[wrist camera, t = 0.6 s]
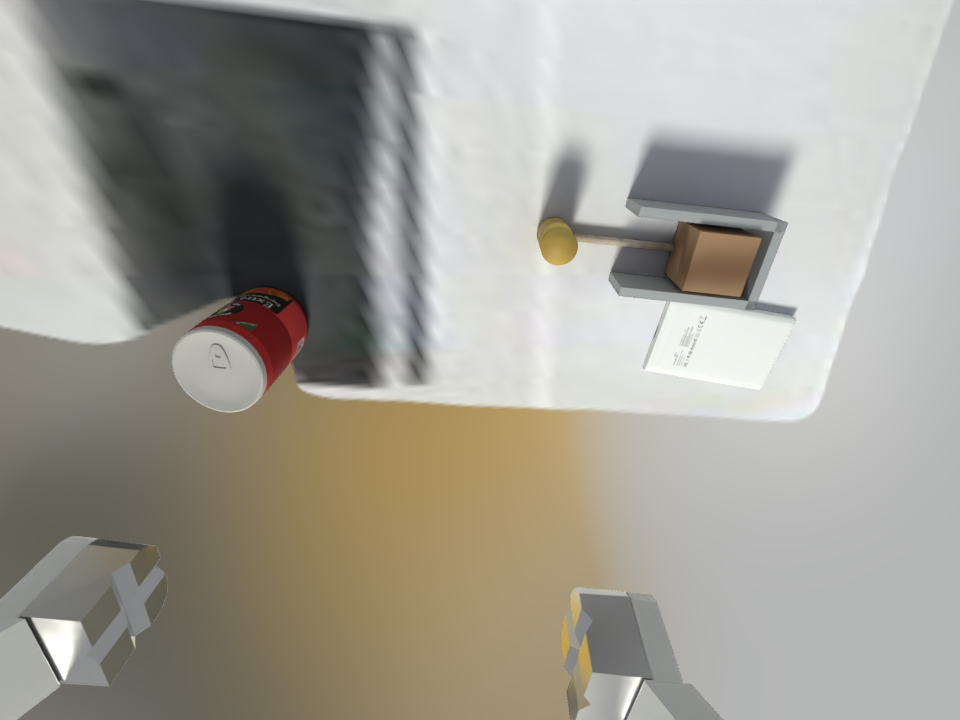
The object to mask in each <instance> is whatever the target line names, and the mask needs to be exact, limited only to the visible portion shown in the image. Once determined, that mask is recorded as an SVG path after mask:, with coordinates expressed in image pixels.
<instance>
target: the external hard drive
mask: <svg viewBox="0 0 960 720" xmlns="http://www.w3.org/2000/svg"><path fill="white" fill-rule="evenodd" d="M795 322H796V319H795V318H794V317H793V316H792V315H787V314H781V313H775V312H769V311H764V310H758V309H754V310H744V309H735V308H726V307H717V306H707V305H698V304H689V303H680V302H670V301H667V302H666V304H665V307H664V310H663V312H662V315H661V318H660V321H659V323H658V329H657V332H656V335H655V337H654V338H653V339H652V342H651V345H650V347H649V350H648V353H647V355H646V358H645V361H644V364H643V368H644V370H647V371H653V372H659V373H664V374H670V375H676V376H681V377H687V378H693V379H699V380H705V381H711V382H716V383H722V384H728V385H734V386H740V387H746V388H752V389H761V388H762V386H763V385H764V383H765V381H766V379H767V377H768V375H769V373H770V371H771V369H772V367H773V365H774V363H775V361H776V359H777V358H778V355H779V354H780V352H781V350H782V348H783V346H784V344H785V342H786V340H787V338H788V336H789V334H790V333H791V331H792V329H793V327H794V324H795Z"/></svg>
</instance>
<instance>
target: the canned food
mask: <svg viewBox="0 0 960 720" xmlns="http://www.w3.org/2000/svg"><path fill="white" fill-rule="evenodd" d="M307 331H308V325H307V319H306V316H305V314H304V312H303V310H302V308H301V307H300V305H299V304H298V303H297V302H296V301H295V300H294V299H293V298H292V297H291V296H289V295H288V294H286V293H285V292H283V291H280V290H278V289H274V288H265V287H262V288H255V289H251V290H248V291H246V292H244V293H243V294H241V295H240V296H238V297H237V298H235V299H234V300H233V301H231V302H230V303H228V304H227V305H225V306H224V307H222V308H221V309H219V310H218V311H217V312H215V313H214V314H212V315H211V316H209V317H208V318H206V319H205V320H203V321H202V322H201V323H199V324H198V325H196V326H195V327H194V328H192V329H191V330H190V331H188V332H187V333H186V334H184V335H183V336H182V338H180V339H179V341H178V342H177V343H176V345H175V347H174V350H173V353H172V367H173V371H174V374H175V376H176V378H177V380H178V382H179V384H180V385H181V386H182V388H183V389H184V390H185V392H186V393H187V394H188V395H190V397H192V398H193V399H194V400H196V401H197V402H198V403H200V404H202V405H204V406H206V407H208V408H210V409H213V410H216V411H221V412H238V411H242V410H245V409H248V408H249V407H251V406H252V405H253V404H255V403H256V402H257V401H258V400H259V399H260V398H261V397H262V395H263V394H264V393H265V392H266V391H267V390H268V389H269V387H270V386H271V385H272V384H273V383H274V382H275V380H276V379H277V378H278V377H279V375H280V374H281V373H282V372H283V371H284V370H285V368H286V367H287V366H288V365H289V364H290V362H291V361H292V360H293V359H294V358H295V356H296V355H297V354H298V353H299V351H300V350H301V349H302V348H303V346H304V344H305V341H306V338H307Z"/></svg>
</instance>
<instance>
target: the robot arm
mask: <svg viewBox="0 0 960 720" xmlns="http://www.w3.org/2000/svg"><path fill="white" fill-rule="evenodd" d="M160 558H161V557H160V554H159V552H158V549H157V546H153V545H145V544H136V543H129V542H120V541H113V540H104V539H97V538H88V537H78V536H71V537H69V538H67V539H65V540H63V541H61V542H60V543H59V544H58V545H57V546H56V547H55V548H54V549H53V550H52V551H51V552H49V553H48V554H47V555H46V556H45V557H44V558H43V559H42V560H41V561H40V562H39V563H38V564H37V565H36V566H35V567H34V568H33V569H32V570H31V571H30V572H29V573H28V574H27V575H26V576H25V577H24V578H23V579H21V580H20V582H18V584H16V585H15V586H14V587H13V588H12V589H11V590H10V591H9V592H8V593H7V594H6V595H5V596H4V597H3V598H2V599H1V600H0V720H17V719H18V718H19V717H21V716H22V715H23V714H25V713H26V712H27V711H29V710H30V709H31V708H32V707H34V706H35V705H36V704H38V703H39V702H40V701H41V700H43V699H44V698H46V697H47V696H48V695H49V694H51V693H52V692H53V691H55V690H56V689H57V688H59V687H60V684H59V683H67V684H82V685H98V686H110V684H111V683H112V682H113V681H114V679H115V678H116V676H117V675H118V673H119V672H120V670H121V669H122V667H123V666H124V664H125V663H126V661H127V660H128V659H129V657H130V656H131V654H132V653H133V651H134V650H135V636H136V635H138V634H139V633H141V632H142V631H144V630H145V629H146V628H148V627H150V626H151V625H152V623H153V622H154V620H155V619H156V617H157V616H158V614H159V613H160V611H161V609H162V606H163V604H164V601H165V598H166V596H167V588H168V581H167V578H166V574H165V573H164V572H163V571H162V570H161V569H159V568H158V567H157V566H156V564H157V562H158V561H159V559H160ZM570 603H571V611H569V612H568V613H566V615H565V619H564V623H563V631H562V654H563V664H564V667H565V669H566V670H567V671H568V673H569V674H570V675H571V679H570V682H569V685H568V689H567V699H568V707H569V715H570V720H723V719H722V718H721V717H720V715H719V714H718V713H717V712H716V711H715V710H714V709H713V708H712V707H711V706H710V704H709V703H708V702H707V701H706V700H705V699H704V698H703V697H702V695H701V694H700V693H699V692H698V691H697V690H696V689H695V687H694V686H693V685H691V684H685V683H683V680H682V677H681V674H680V671H679V668H678V665H677V662H676V659H675V656H674V653H673V650H672V647H671V644H670V641H669V638H668V635H667V632H666V629H665V626H664V623H663V619H662V617H661V613H660V611H659V607H658V604H657V601H656V600H655V598H654V597H653V596H652V595H649V594H639V593H628V592H624V591H614V590H602V589H591V588H579V587H575V588H574V590H573V591H572V594H571V597H570Z"/></svg>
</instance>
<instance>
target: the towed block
mask: <svg viewBox="0 0 960 720" xmlns="http://www.w3.org/2000/svg"><path fill="white" fill-rule="evenodd" d="M537 239H538V242H539V245H540V249H541V252H542V255H543V257H544V259H545V260H546V261H547V262H549V263H550V264H553V265H564V264H566V263H568V262H570V261H571V260H572V259H573V258H574V257H575V255H576V253H577V249H578V243H577V242H586V243H596V244H605V245H614V246H623V247H632V248H641V249H650V250H659V251H669V252H670V256H669V259H668V263H667V266H666V269H665V274H666V275H667V276H668V277H669V278H670V279H671V280H672V281H673V282H674V283H675V284H676V285H677V286H678V287H679V288H680V289H681V290H682V291H691V292H700V293H709V294H718V295H727V296H737V297H740V296H741V294H742V291H743V288H744V286H745V283H746V280H747V277H748V275H749V272H750V269H751V267H752V264H753V261H754V259H755V256H756V253H757V251H758V248H759V245H760V242H761V240H762V238H760V237H758V236H756V235H754V234H752V233H750V232H748V231H746V230H743V229H741V228H736V227H727V226H717V225H708V224H699V223H690V222H681V221H679V224H678V228H677V231H676V235H675V238H674V242H673V244H668V243H659V242H650V241H641V240H632V239H623V238H614V237H605V236H596V235H587V234H577V233H573V232H572V231H571V229H570V228H569V226H568V224H567V223H566V222H565V221H564V220H563V219H561V218H557V217H551V218H548V219H546V220H544V221H543V222H542V223H541V224H540V226H539V228H538V231H537Z"/></svg>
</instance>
